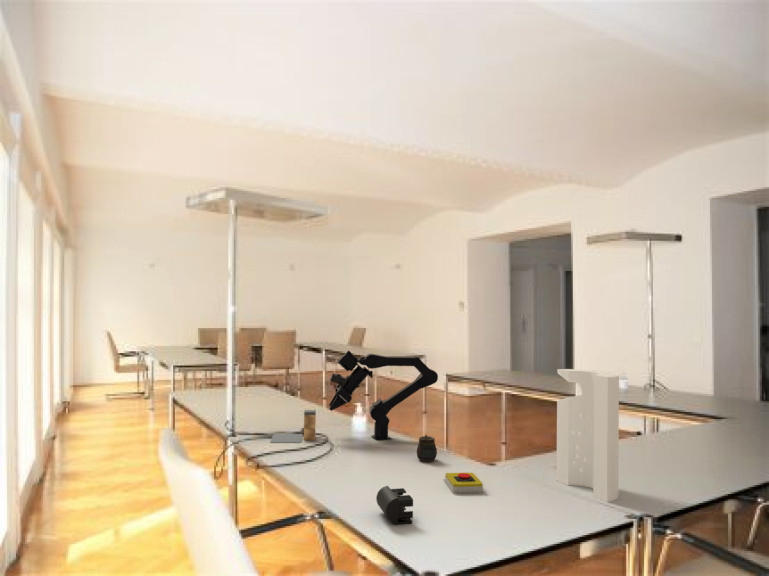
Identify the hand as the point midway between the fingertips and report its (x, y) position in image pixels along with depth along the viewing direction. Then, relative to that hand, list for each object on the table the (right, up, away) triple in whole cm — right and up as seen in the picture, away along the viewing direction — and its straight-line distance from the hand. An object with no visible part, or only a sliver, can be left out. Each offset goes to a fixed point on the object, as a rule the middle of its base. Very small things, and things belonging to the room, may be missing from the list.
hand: (330, 407), depth 227 cm
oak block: (-8, -12, -1) cm, 15 cm away
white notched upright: (+85, -12, -59) cm, 104 cm away
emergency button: (+46, -12, -59) cm, 76 cm away
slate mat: (-17, -12, -2) cm, 21 cm away
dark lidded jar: (+37, -12, -31) cm, 50 cm away
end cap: (+25, -10, -85) cm, 89 cm away
